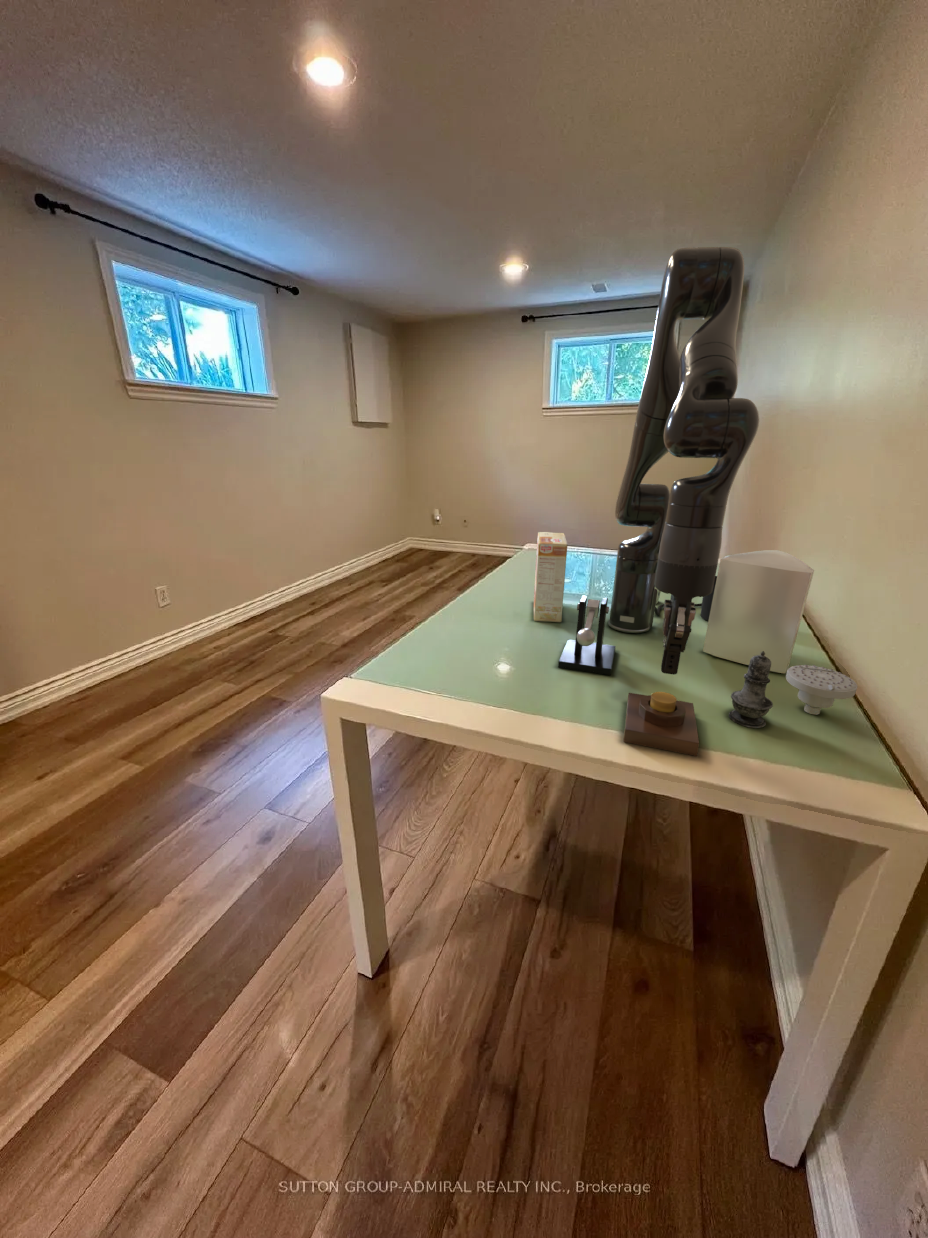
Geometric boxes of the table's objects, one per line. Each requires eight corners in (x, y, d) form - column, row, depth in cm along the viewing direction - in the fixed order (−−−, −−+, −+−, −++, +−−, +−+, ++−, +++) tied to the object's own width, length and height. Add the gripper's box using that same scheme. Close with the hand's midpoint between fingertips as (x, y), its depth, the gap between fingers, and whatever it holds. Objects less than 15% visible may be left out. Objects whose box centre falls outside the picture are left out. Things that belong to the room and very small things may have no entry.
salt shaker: (719, 710, 81) (733, 643, 77) (752, 709, 82) (768, 643, 78) (740, 729, 76) (757, 659, 72) (776, 728, 76) (795, 658, 72)
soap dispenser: (700, 654, 103) (720, 551, 95) (722, 636, 113) (741, 541, 105) (783, 677, 93) (813, 564, 86) (798, 655, 103) (826, 552, 96)
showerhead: (798, 681, 76) (782, 656, 85) (787, 722, 78) (772, 693, 87) (871, 691, 73) (846, 664, 82) (857, 733, 75) (835, 702, 84)
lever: (593, 650, 88) (594, 636, 86) (574, 648, 89) (575, 633, 87) (601, 612, 98) (602, 598, 96) (585, 610, 99) (586, 596, 97)
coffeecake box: (533, 602, 135) (537, 531, 128) (559, 603, 134) (565, 532, 127) (532, 621, 121) (537, 542, 114) (561, 622, 120) (568, 543, 113)
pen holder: (741, 617, 125) (749, 579, 121) (738, 628, 117) (746, 588, 114) (701, 610, 130) (708, 574, 126) (695, 620, 122) (702, 582, 119)
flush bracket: (610, 675, 93) (618, 612, 89) (558, 667, 96) (563, 605, 92) (614, 651, 104) (622, 594, 99) (567, 645, 107) (572, 588, 102)
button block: (627, 703, 83) (630, 682, 82) (690, 714, 80) (695, 693, 79) (623, 741, 73) (626, 718, 71) (696, 756, 69) (701, 732, 68)
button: (649, 699, 77) (651, 689, 77) (674, 703, 76) (676, 694, 76) (649, 710, 74) (651, 700, 73) (675, 715, 73) (677, 705, 72)
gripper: (724, 571, 60) (700, 696, 66) (712, 550, 72) (692, 658, 78) (659, 565, 62) (641, 687, 68) (658, 546, 74) (642, 651, 80)
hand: (668, 671), depth 73 cm, fingers closed
